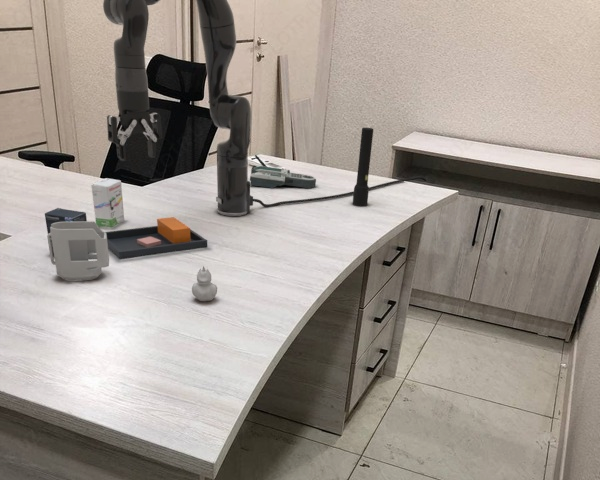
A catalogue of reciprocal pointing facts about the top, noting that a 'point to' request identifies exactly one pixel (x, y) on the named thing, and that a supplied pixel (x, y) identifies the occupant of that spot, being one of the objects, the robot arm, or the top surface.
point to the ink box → (108, 202)
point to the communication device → (278, 177)
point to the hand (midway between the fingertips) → (137, 158)
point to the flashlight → (363, 169)
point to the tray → (127, 246)
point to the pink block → (149, 241)
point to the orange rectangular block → (173, 230)
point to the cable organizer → (78, 249)
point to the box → (63, 218)
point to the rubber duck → (204, 286)
